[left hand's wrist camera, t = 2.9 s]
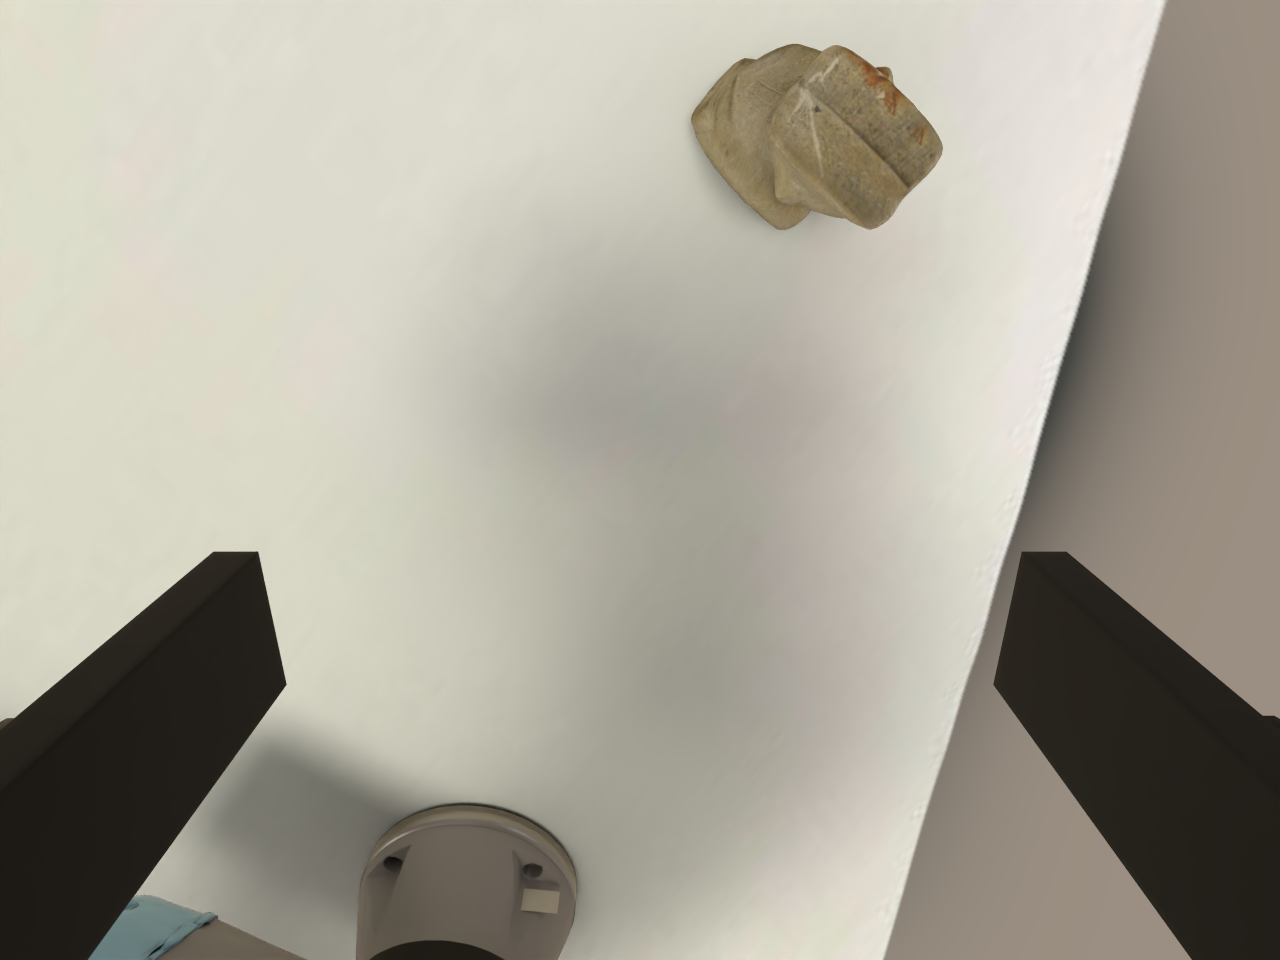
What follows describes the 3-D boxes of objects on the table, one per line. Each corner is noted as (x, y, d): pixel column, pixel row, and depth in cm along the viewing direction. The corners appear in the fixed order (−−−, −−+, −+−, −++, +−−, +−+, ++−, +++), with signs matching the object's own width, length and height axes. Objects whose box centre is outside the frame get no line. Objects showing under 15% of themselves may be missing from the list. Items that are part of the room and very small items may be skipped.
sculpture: (766, 249, 37) (843, 283, 23) (666, 141, 35) (682, 106, 21) (855, 159, 35) (995, 136, 21) (754, 41, 34) (835, -68, 20)
